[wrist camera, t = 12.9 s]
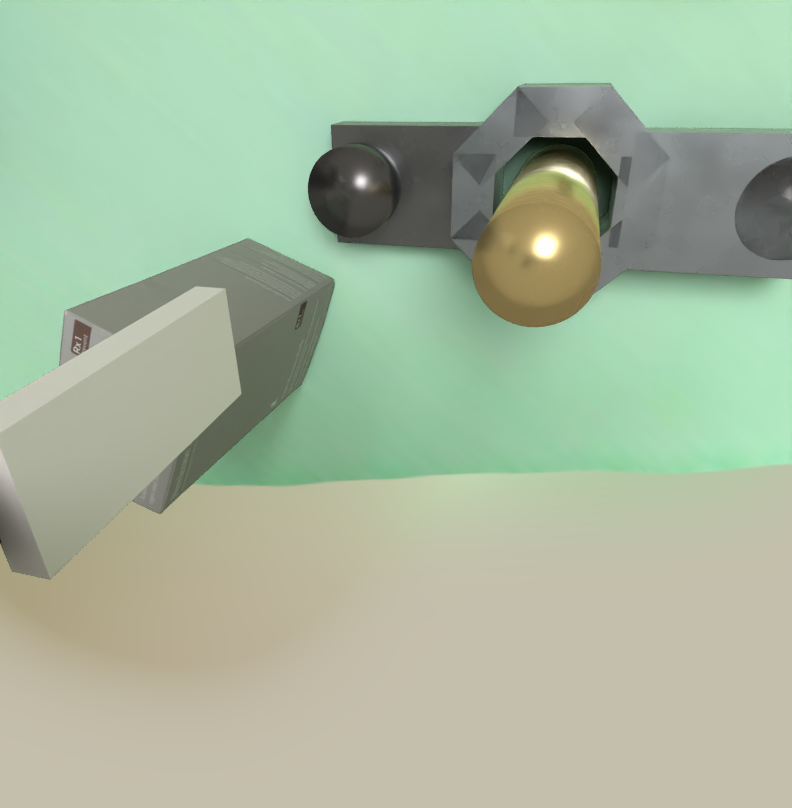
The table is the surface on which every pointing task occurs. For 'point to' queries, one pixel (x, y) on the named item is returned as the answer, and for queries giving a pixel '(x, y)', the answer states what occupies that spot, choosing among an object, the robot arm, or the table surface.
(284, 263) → the skincare box
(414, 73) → the table surface
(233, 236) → the table surface
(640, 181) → the grey socket base
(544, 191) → the brass pin
